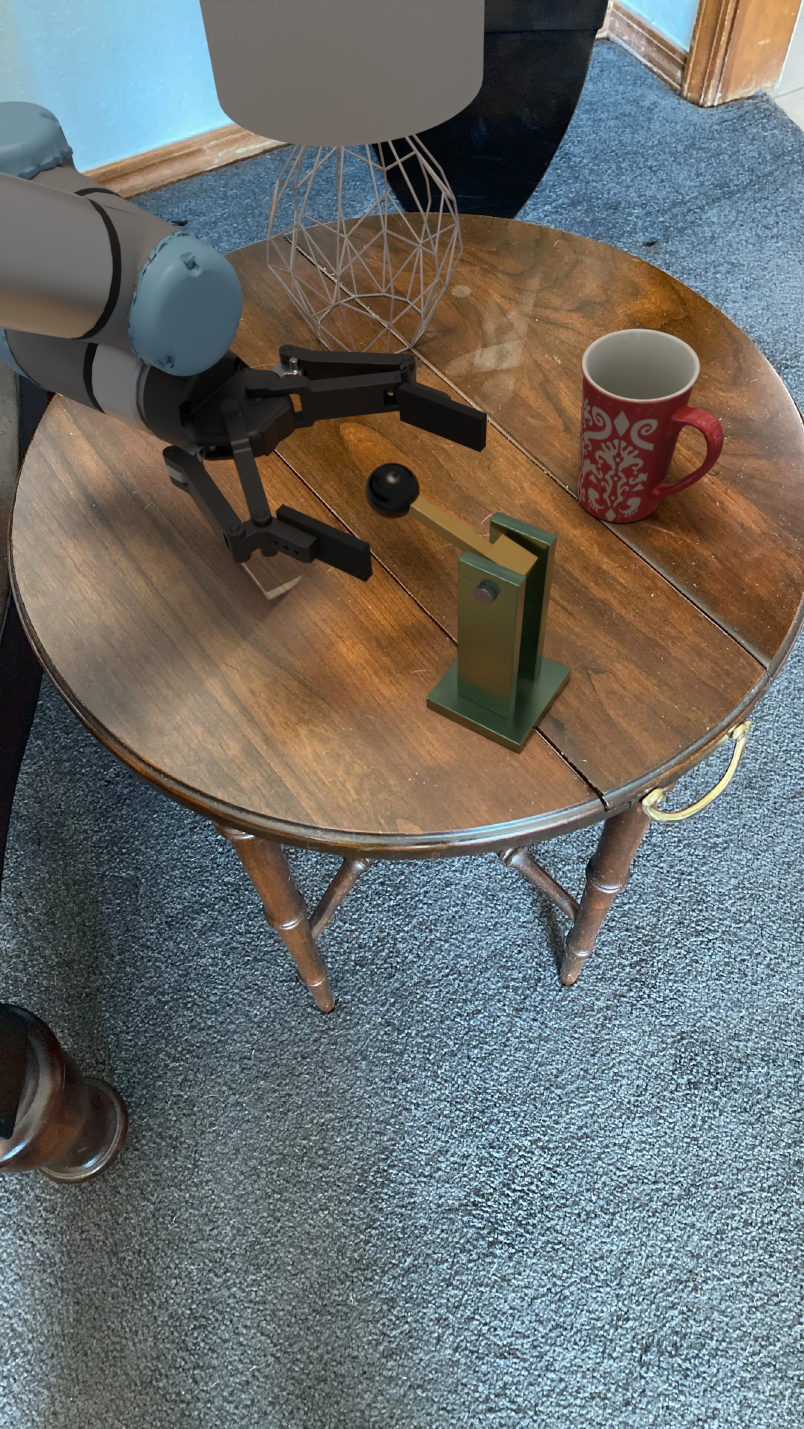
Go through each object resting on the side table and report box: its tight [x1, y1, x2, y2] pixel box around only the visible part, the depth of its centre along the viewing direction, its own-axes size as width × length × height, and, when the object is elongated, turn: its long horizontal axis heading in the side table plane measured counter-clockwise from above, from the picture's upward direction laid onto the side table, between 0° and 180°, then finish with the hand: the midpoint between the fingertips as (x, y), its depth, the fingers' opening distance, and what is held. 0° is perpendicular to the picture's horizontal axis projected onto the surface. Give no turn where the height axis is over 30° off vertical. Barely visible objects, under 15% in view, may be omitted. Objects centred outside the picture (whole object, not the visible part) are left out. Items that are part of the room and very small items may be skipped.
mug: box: [576, 328, 725, 524], centre depth 79 cm, size 13×9×14 cm
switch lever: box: [364, 462, 538, 579], centre depth 63 cm, size 12×4×4 cm, turn 57°
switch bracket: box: [425, 511, 572, 754], centre depth 68 cm, size 8×8×16 cm
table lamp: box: [198, 0, 485, 354], centre depth 84 cm, size 22×22×40 cm
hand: (429, 495), depth 61 cm, fingers open, 13 cm apart
